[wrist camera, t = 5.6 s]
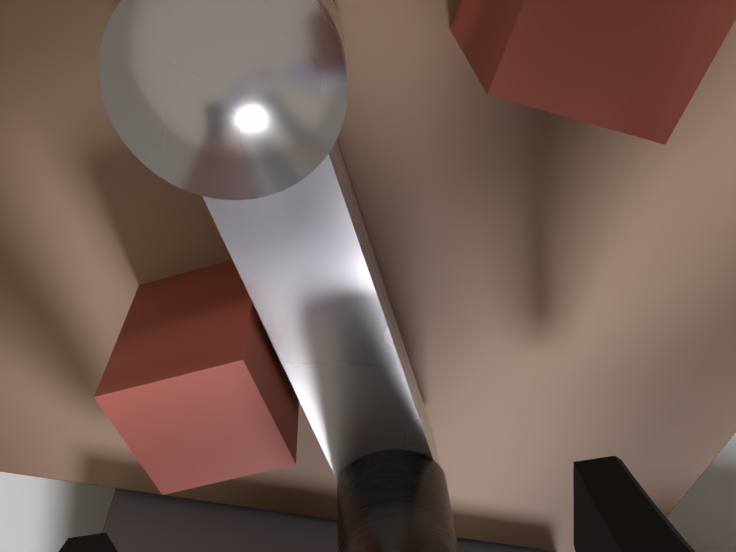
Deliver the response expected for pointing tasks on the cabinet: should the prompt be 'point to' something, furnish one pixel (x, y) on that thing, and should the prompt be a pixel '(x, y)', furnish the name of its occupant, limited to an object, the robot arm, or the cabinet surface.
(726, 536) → the cabinet surface
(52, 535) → the cabinet surface
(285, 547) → the tray
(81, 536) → the robot arm
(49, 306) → the crank base
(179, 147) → the crank
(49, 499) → the cabinet surface
